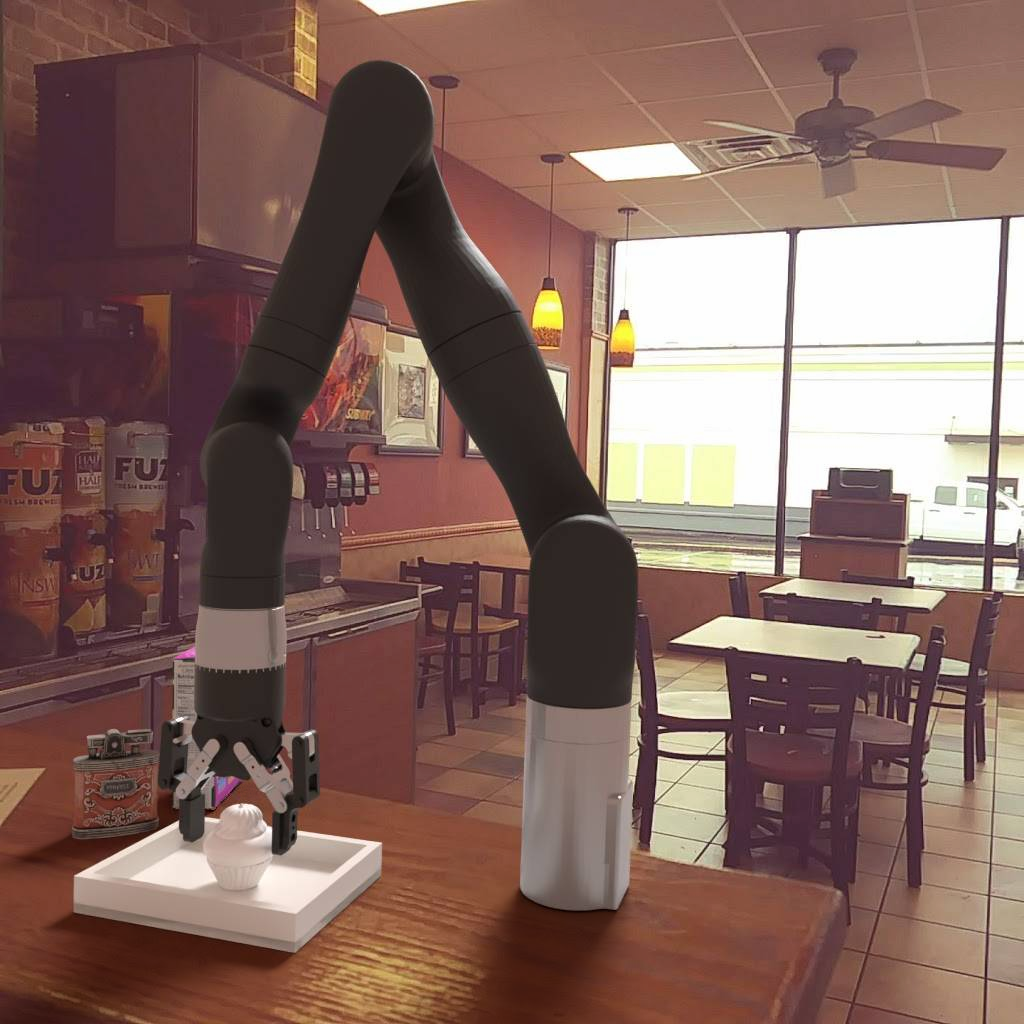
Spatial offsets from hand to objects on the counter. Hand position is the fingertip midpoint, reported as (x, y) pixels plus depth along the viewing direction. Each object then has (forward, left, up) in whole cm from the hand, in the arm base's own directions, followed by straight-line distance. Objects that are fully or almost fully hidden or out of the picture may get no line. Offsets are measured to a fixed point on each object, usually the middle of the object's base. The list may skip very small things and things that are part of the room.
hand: (236, 845), depth 88 cm
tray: (0, 0, -4) cm, 4 cm away
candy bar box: (+17, -22, -4) cm, 28 cm away
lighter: (+19, -9, -4) cm, 21 cm away
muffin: (0, 0, -4) cm, 4 cm away
